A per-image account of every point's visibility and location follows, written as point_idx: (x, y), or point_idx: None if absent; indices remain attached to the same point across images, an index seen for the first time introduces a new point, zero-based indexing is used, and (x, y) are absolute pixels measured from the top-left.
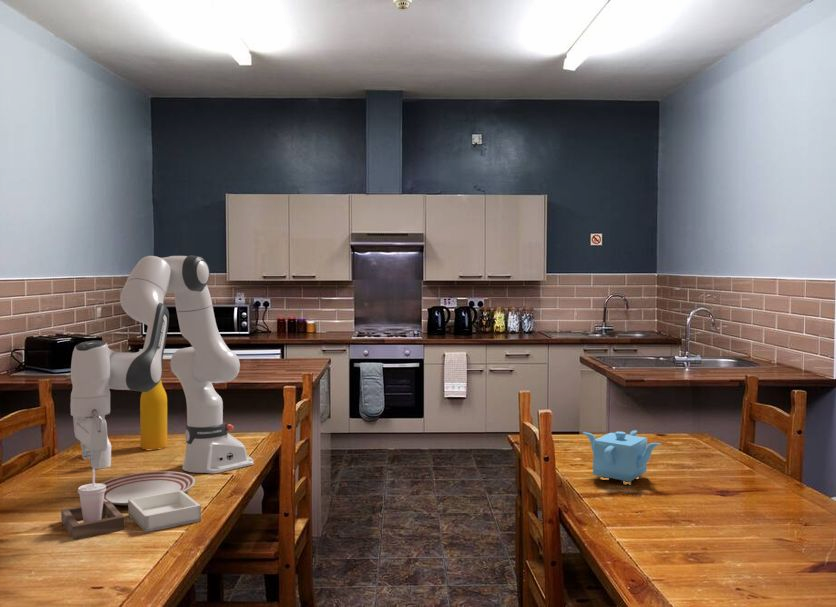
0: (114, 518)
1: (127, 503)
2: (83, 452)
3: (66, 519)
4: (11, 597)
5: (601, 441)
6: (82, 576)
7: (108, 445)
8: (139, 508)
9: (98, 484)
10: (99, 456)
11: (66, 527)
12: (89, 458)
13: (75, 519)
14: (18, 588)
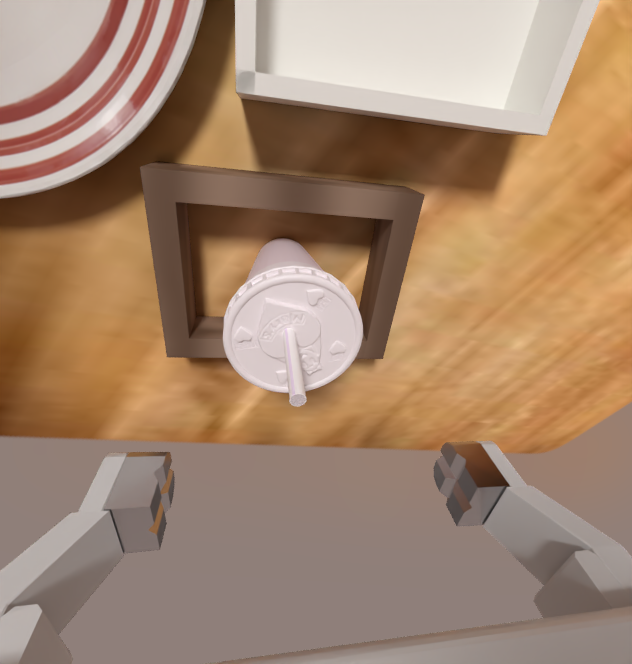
0: (408, 232)
1: (179, 75)
2: (143, 548)
3: None
4: (548, 450)
5: None
6: (591, 361)
7: None
8: (428, 107)
9: (284, 310)
10: (570, 519)
11: None
12: (170, 456)
13: None
14: (527, 442)
